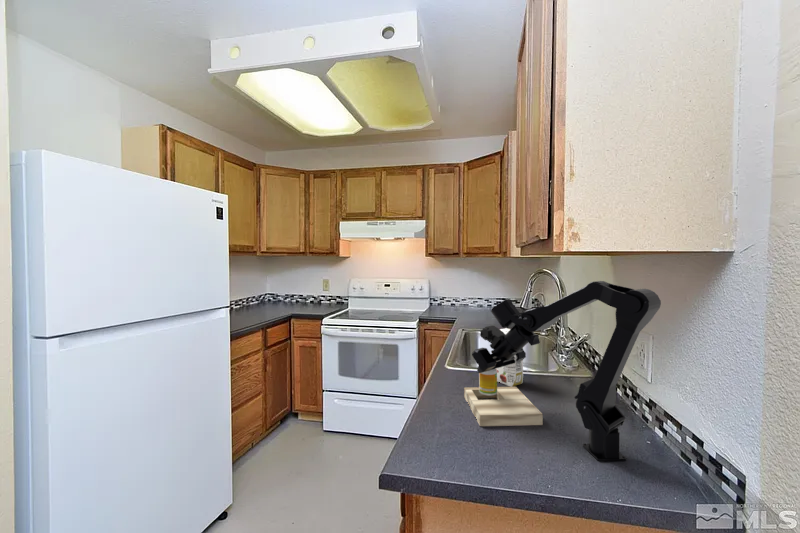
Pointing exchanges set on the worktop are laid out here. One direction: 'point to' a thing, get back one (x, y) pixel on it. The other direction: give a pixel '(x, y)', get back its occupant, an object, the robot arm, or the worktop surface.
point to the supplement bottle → (488, 382)
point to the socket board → (502, 407)
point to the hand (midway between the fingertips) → (484, 369)
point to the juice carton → (510, 370)
